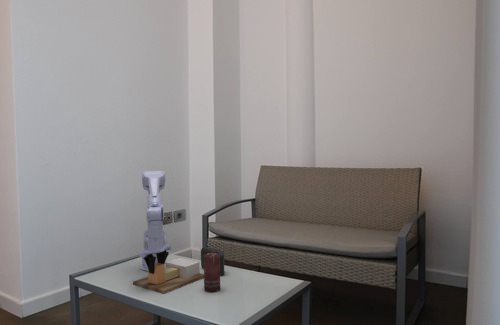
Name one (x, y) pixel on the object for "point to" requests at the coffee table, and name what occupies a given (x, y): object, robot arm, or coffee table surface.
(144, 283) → the walnut board
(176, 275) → the tan wooden l-shaped block
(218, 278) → the can
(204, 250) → the leaning round-cornered charcoal block
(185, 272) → the block
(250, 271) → the coffee table surface
